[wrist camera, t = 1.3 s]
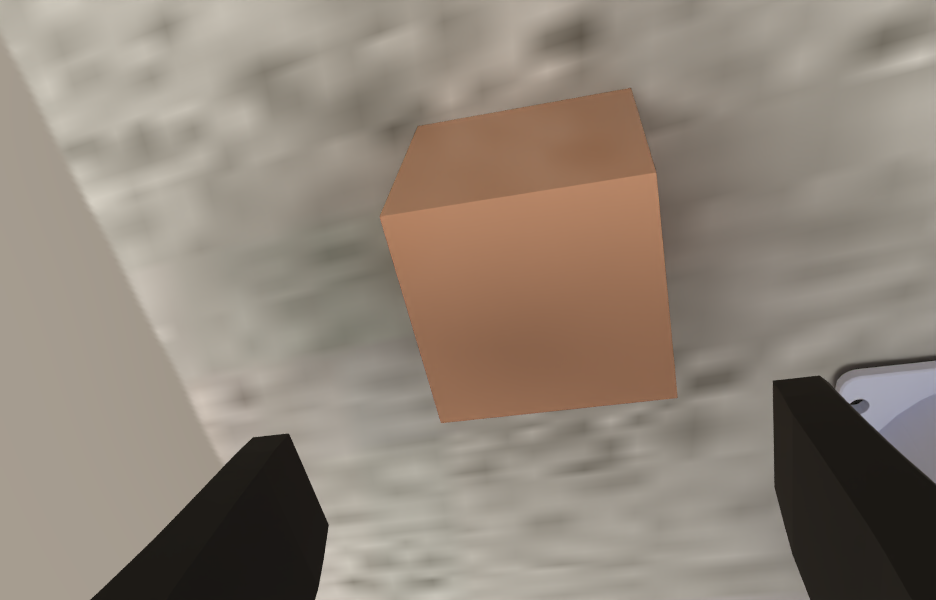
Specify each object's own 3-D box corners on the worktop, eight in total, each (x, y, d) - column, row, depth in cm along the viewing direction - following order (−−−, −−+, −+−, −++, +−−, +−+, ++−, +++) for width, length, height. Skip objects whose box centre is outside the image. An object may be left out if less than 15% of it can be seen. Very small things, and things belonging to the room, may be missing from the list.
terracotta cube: (650, 275, 20) (677, 397, 16) (462, 300, 21) (440, 423, 17) (630, 86, 18) (656, 172, 13) (418, 125, 19) (379, 216, 14)
